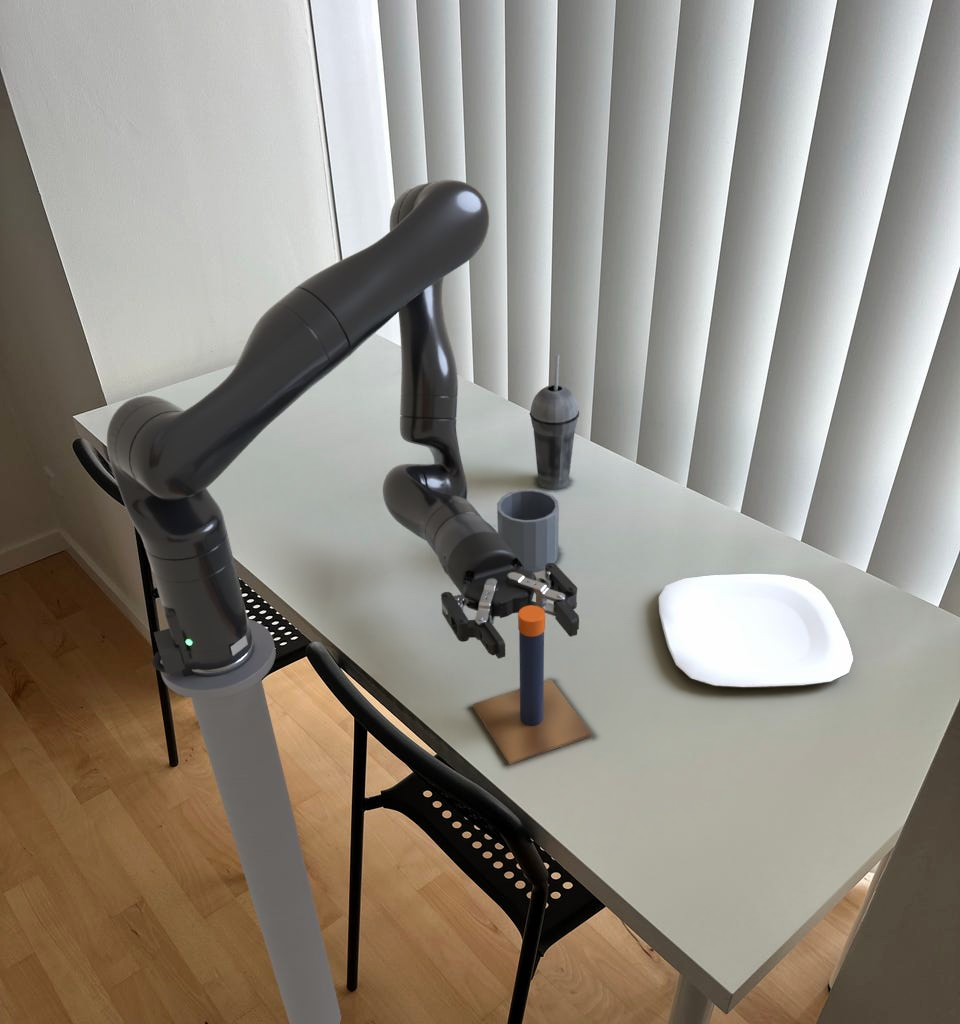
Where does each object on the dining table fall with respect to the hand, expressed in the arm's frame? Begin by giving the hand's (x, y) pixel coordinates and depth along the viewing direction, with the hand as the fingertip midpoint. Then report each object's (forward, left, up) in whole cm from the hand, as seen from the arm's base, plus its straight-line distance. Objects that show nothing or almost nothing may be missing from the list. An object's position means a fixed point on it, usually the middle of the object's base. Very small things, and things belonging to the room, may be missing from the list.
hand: (538, 640), depth 101 cm
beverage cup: (+26, +48, -14) cm, 56 cm away
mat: (0, +2, -14) cm, 14 cm away
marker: (0, +2, -13) cm, 13 cm away
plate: (+31, +4, -14) cm, 34 cm away
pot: (+14, +32, -14) cm, 37 cm away
